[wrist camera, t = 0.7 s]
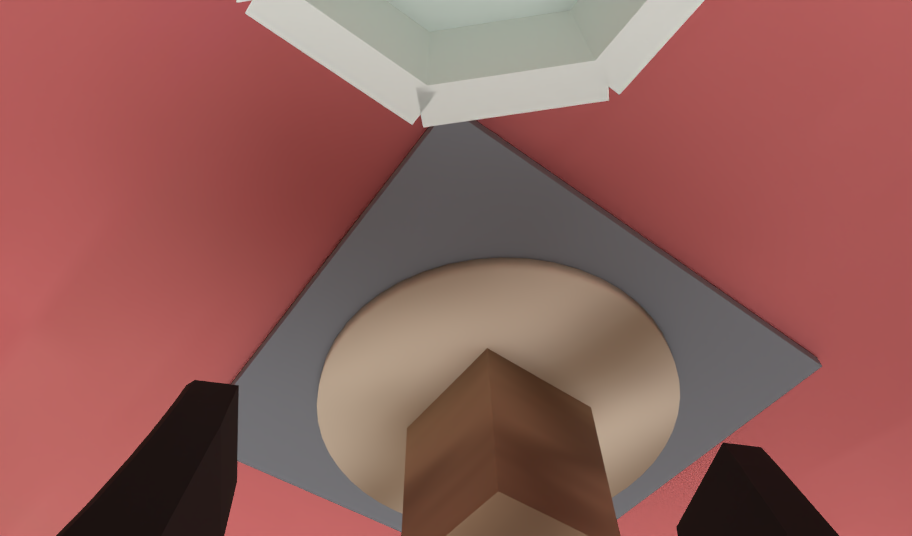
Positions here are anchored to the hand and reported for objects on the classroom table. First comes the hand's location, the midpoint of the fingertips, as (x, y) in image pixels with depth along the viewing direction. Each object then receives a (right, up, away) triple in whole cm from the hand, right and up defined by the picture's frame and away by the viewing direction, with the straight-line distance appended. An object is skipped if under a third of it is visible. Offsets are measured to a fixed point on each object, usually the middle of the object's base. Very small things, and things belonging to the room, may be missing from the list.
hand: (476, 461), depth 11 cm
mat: (+1, -1, +12) cm, 13 cm away
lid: (+1, -1, +12) cm, 12 cm away
